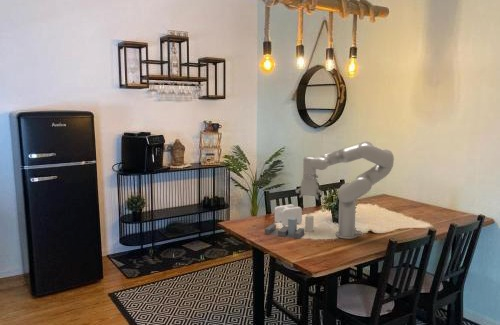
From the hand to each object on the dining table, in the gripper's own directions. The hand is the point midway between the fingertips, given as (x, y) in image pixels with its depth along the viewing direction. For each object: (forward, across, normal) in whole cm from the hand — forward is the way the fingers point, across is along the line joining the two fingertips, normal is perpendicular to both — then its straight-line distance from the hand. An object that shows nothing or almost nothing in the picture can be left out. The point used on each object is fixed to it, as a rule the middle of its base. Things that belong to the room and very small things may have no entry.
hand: (309, 204), depth 237 cm
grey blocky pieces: (+18, +12, +11) cm, 24 cm away
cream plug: (+18, 0, 0) cm, 18 cm away
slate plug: (+17, +7, +11) cm, 21 cm away
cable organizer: (+18, +18, -11) cm, 27 cm away
